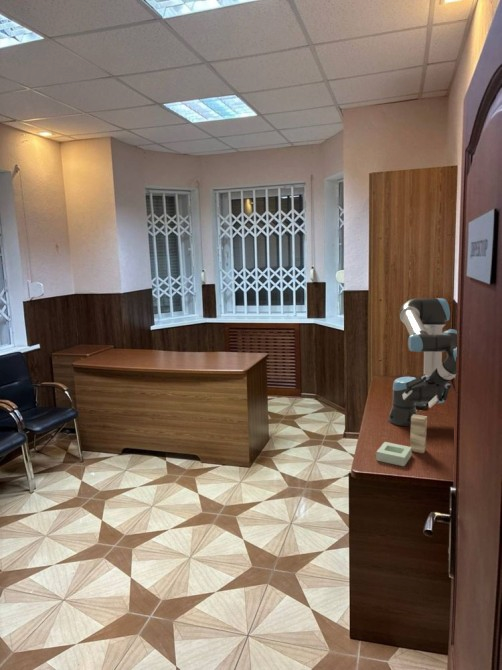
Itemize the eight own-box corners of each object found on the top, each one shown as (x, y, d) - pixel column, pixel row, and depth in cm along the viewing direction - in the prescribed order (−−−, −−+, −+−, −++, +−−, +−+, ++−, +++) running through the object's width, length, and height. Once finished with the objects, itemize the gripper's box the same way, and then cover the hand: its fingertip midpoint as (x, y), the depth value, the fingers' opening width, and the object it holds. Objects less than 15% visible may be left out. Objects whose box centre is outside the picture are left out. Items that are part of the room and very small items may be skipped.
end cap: (384, 450, 214) (384, 441, 213) (411, 455, 207) (411, 447, 207) (376, 460, 204) (376, 451, 203) (404, 466, 197) (404, 457, 197)
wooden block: (411, 447, 216) (413, 414, 213) (425, 450, 213) (427, 416, 210) (409, 450, 212) (411, 417, 210) (423, 453, 209) (425, 419, 206)
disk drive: (426, 410, 264) (427, 402, 278) (426, 406, 264) (427, 397, 277) (406, 409, 268) (408, 400, 281) (407, 404, 267) (408, 396, 281)
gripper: (420, 371, 199) (393, 400, 214) (470, 388, 203) (441, 415, 217) (417, 359, 205) (391, 387, 219) (466, 375, 209) (438, 402, 223)
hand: (416, 401), depth 218 cm, fingers open, 13 cm apart
